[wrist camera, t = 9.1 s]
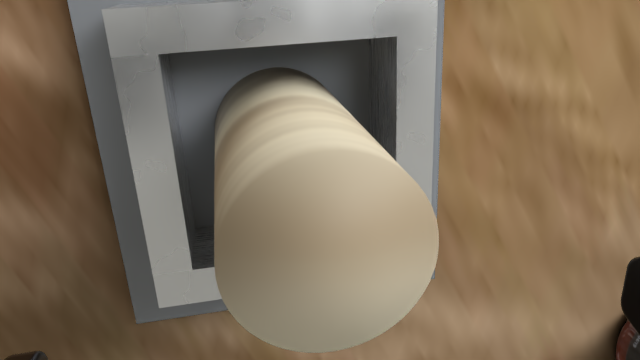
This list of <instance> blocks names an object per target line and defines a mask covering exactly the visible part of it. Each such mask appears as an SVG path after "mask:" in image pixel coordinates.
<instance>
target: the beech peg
mask: <svg viewBox="0 0 640 360" xmlns="http://www.w3.org/2000/svg"><path fill="white" fill-rule="evenodd" d="M438 248H439V231H438V225H437V220H436V216H435V214H434V211H433V208H432V205H431V203H430V202H429V200H428V198H427V196H426V194H425V193H424V192H423V190H422V189H421V187H420V186H419V185H418V184H417V183H416V182H415V181H414V179H413V178H412V177H411V176H410V175H409V174H408V173H407V172H406V171H405V170H404V169H403V168H402V167H401V166H400V165H399V164H398V163H397V162H396V161H395V160H394V159H393V158H392V157H391V156H390V154H389V153H388V152H387V151H386V150H385V149H384V148H383V147H382V146H381V145H380V144H379V143H378V142H377V141H376V140H375V139H374V138H373V137H372V136H371V135H370V134H369V133H368V132H367V131H366V130H365V128H364V127H363V126H362V125H361V124H360V123H359V122H358V121H357V120H356V119H355V118H354V117H353V116H352V115H351V114H350V113H349V112H348V111H347V110H346V109H345V108H344V107H343V106H342V105H341V103H340V102H339V101H338V100H337V99H336V98H335V97H334V96H333V95H332V94H331V93H330V92H329V91H328V90H327V89H326V88H325V87H324V86H323V85H322V84H321V83H320V82H319V81H318V80H316V79H315V78H314V77H312V76H310V75H308V74H307V73H304V72H302V71H299V70H295V69H291V68H284V67H273V68H267V69H262V70H259V71H256V72H254V73H251V74H249V75H247V76H246V77H244V78H242V79H241V80H240V81H238V82H237V83H236V84H235V85H234V86H233V87H232V88H231V89H230V90H229V91H228V93H227V94H226V95H225V97H224V98H223V100H222V102H221V104H220V106H219V109H218V112H217V115H216V120H215V181H214V266H215V277H216V282H217V286H218V290H219V292H220V295H221V297H222V300H223V302H224V303H225V305H226V307H227V309H228V310H229V312H230V313H231V314H232V316H233V317H234V318H235V319H236V321H237V322H238V323H239V324H240V325H242V326H243V327H244V328H245V329H246V330H247V331H248V332H250V333H251V334H253V335H254V336H256V337H257V338H259V339H261V340H263V341H265V342H267V343H269V344H271V345H274V346H277V347H280V348H283V349H287V350H292V351H297V352H307V353H323V352H331V351H338V350H342V349H347V348H350V347H353V346H356V345H359V344H362V343H364V342H367V341H369V340H371V339H373V338H375V337H377V336H379V335H380V334H382V333H384V332H385V331H387V330H388V329H390V328H391V327H392V326H394V325H395V324H396V323H398V322H399V321H400V320H401V319H402V318H403V317H404V316H405V315H406V314H407V313H408V312H409V311H410V310H411V309H412V308H413V307H414V305H415V304H416V303H417V302H418V300H419V299H420V297H421V296H422V294H423V293H424V291H425V289H426V288H427V286H428V284H429V282H430V280H431V277H432V274H433V272H434V269H435V265H436V261H437V257H438Z"/></svg>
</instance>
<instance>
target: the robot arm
mask: <svg viewBox="0 0 640 360" xmlns="http://www.w3.org/2000/svg"><path fill="white" fill-rule="evenodd" d="M621 307H622V310H623V313H624V315H625V316H626V318H627V319H628V321H629V322H630V323H631V325H632V326H633V327H634V329H635V330H636V331H637V333H638V334H639V335H640V257H636V258H634V259H632V260H631V261H630V262H629V264H628V266H627V271H626V276H625V281H624V286H623V291H622V296H621ZM5 360H48V358H47V356H46V355H45V353H43V352H41V351H34V352H27V353H21V354H15V355H11V356H9V357H7V358H6V359H5Z"/></svg>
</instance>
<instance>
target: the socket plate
mask: <svg viewBox="0 0 640 360" xmlns="http://www.w3.org/2000/svg"><path fill="white" fill-rule="evenodd" d="M166 1H183V0H67V2H68V7H69V11H70V16H71V20H72V25H73V30H74V34H75V39H76V44H77V48H78V53H79V58H80V62H81V67H82V72H83V76H84V81H85V86H86V90H87V95H88V100H89V104H90V109H91V114H92V118H93V123H94V128H95V132H96V137H97V142H98V146H99V151H100V156H101V160H102V165H103V170H104V174H105V179H106V184H107V188H108V193H109V197H110V202H111V207H112V211H113V216H114V221H115V225H116V230H117V235H118V239H119V244H120V249H121V253H122V258H123V263H124V267H125V272H126V277H127V281H128V286H129V291H130V295H131V300H132V305H133V309H134V314H135V319H136V323H137V324H139V323H146V322H152V321H159V320H166V319H172V318H179V317H185V316H192V315H199V314H205V313H212V312H218V311H225V310H228V309H227V307H226V305H225V303H224V302H223V300H222V299H218V300H212V301H205V302H198V303H191V304H185V305H178V306H171V307H164V308H159V305H158V300H157V295H156V289H155V284H154V279H153V274H152V269H151V264H150V258H149V253H148V248H147V243H146V238H145V232H144V227H143V222H142V217H141V212H140V207H139V201H138V196H137V191H136V186H135V181H134V175H133V170H132V165H131V160H130V155H129V150H128V144H127V139H126V134H125V129H124V124H123V119H122V113H121V108H120V103H119V98H118V93H117V87H116V82H115V77H114V72H113V67H112V62H111V56H110V51H109V46H108V41H107V36H106V30H105V25H104V20H103V15H102V10H101V9H105V8H109V7H112V6H116V5H119V4H132V3H149V2H166ZM444 2H445V0H438V10H437V42H436V74H435V105H434V137H433V169H432V201H431V205H432V208H433V211H434V214H435V216H436V220H437V197H438V169H439V141H440V113H441V86H442V58H443V30H444ZM169 57H170V64H171V71H172V77H173V84H174V90H175V97H176V103H177V110H178V116H179V123H180V130H181V136H182V143H183V149H184V156H185V162H186V169H187V175H188V182H189V189H190V195H191V202H192V208H193V215H194V221H195V228H199V227H207V226H214V181H215V120H216V115H217V112H218V109H219V106H220V104H221V102H222V100H223V98H224V97H225V95H226V94H227V93H228V91H229V90H230V89H231V88H232V87H233V86H234V85H235V84H236V83H237V82H238V81H240V80H241V79H242V78H244V77H246V76H247V75H249V74H251V73H254V72H256V71H259V70H262V69H267V68H273V67H284V68H291V69H295V70H299V71H302V72H304V73H307V74H308V75H310V76H312V77H314V78H315V79H316V80H318V81H319V82H320V83H321V84H322V85H323V86H324V87H325V88H326V89H327V90H328V91H329V92H330V93H331V94H332V95H333V96H334V97H335V98H336V99H337V100H338V101H339V102H340V103H341V105H342V106H343V107H344V108H345V109H346V110H347V111H348V112H349V113H350V114H351V115H352V116H353V117H354V118H355V119H356V120H357V121H358V122H359V123H360V124H361V125H362V126H363V127H364V128H365V130H366V131H367V132H368V133H369V134H370V116H369V49H368V39H356V40H342V41H329V42H315V43H302V44H288V45H275V46H261V47H248V48H234V49H221V50H207V51H194V52H180V53H169ZM431 279H435V269H434V272H433V274H432V277H431Z"/></svg>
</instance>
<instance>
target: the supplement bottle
mask: <svg viewBox="0 0 640 360" xmlns="http://www.w3.org/2000/svg"><path fill="white" fill-rule="evenodd" d="M616 360H640V335H639V334H638V333H637V331H636V330H635V329H634V327H633V326H632V325H631V323H630V322H629V321H628V320H627V322H626V323H625V325H624V327H623V328H622V330H621V332H620V335H619V338H618V341H617V347H616Z"/></svg>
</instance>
